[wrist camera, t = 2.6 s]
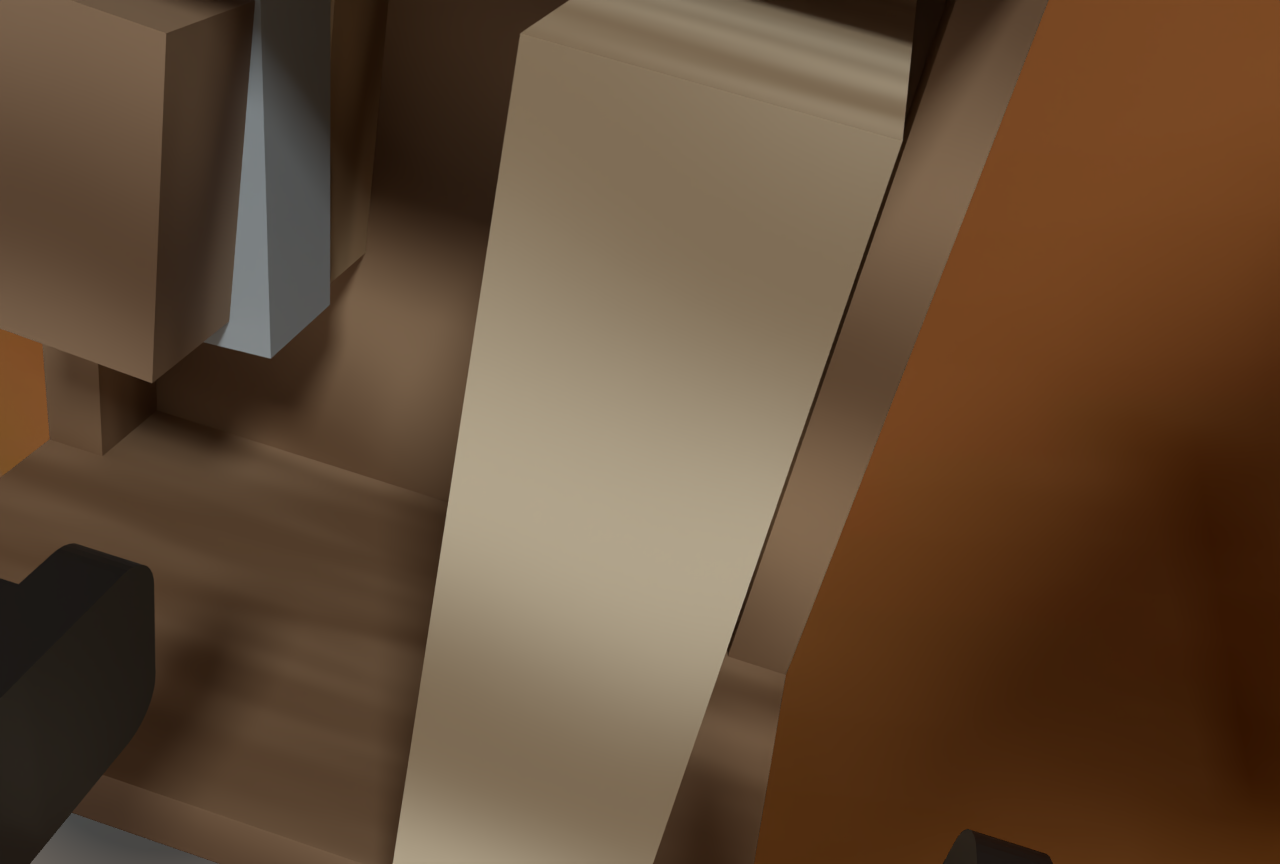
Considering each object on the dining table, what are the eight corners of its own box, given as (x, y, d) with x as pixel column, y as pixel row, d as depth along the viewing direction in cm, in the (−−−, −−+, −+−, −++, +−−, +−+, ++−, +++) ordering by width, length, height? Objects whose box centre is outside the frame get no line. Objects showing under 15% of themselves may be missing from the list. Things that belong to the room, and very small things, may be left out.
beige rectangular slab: (735, -113, 18) (520, 34, 9) (923, -63, 18) (902, 141, 9) (591, 496, 25) (379, 949, 15) (728, 538, 24) (596, 1025, 15)
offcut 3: (175, -130, 20) (96, -117, 18) (395, -69, 20) (337, -50, 18) (176, 196, 23) (110, 235, 21) (365, 252, 23) (314, 296, 21)
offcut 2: (91, -95, 18) (-5, -77, 16) (330, -47, 18) (259, -23, 16) (126, 256, 21) (49, 304, 20) (329, 304, 21) (270, 358, 19)
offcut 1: (17, -82, 16) (-102, -60, 14) (255, 0, 16) (166, 33, 14) (26, 248, 19) (-72, 302, 17) (229, 321, 19) (152, 383, 17)
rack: (110, -469, 18) (-586, -649, 10) (1102, -216, 17) (1254, -182, 9) (134, 417, 28) (-221, 712, 19) (785, 623, 26) (713, 1034, 18)
